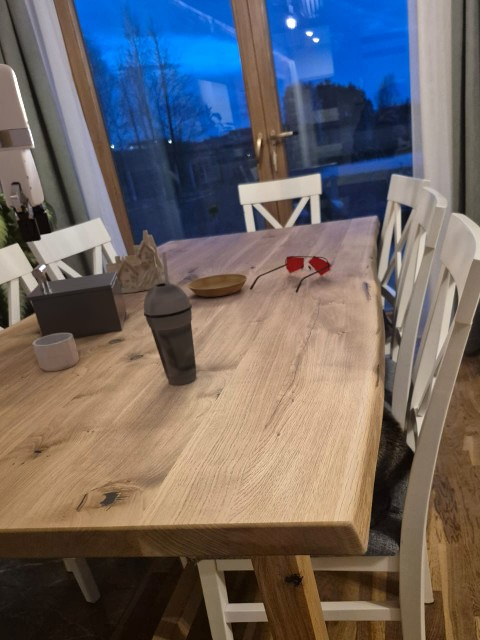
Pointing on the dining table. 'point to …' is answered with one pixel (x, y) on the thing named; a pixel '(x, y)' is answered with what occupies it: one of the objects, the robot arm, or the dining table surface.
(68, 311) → the dark grey open box
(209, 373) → the dining table surface
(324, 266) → the glasses
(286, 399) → the dining table surface
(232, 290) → the plant saucer
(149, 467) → the dining table surface
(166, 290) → the beverage cup
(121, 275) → the ceramic cottage
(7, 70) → the robot arm
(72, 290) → the grey box lid
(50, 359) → the ceramic bowl
